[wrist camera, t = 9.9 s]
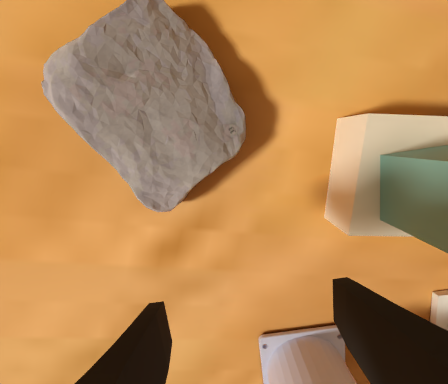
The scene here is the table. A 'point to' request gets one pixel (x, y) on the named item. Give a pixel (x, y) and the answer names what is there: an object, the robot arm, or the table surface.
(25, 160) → the table surface
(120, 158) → the stone block
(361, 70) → the table surface
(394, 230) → the cream base block
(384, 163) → the teal block
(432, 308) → the placard
